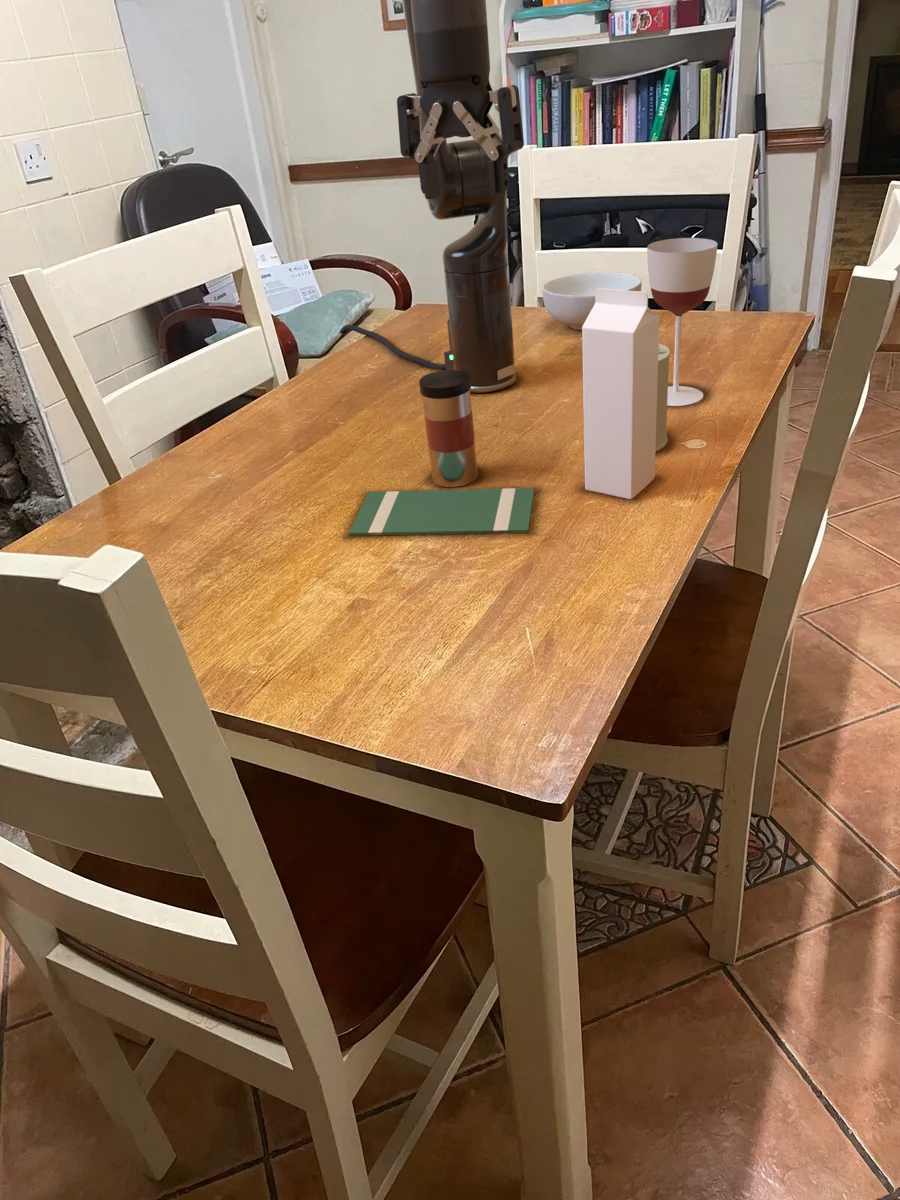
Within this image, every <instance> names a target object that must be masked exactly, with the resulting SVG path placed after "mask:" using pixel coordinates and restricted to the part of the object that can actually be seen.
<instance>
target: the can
mask: <svg viewBox="0 0 900 1200" xmlns="http://www.w3.org/2000/svg"><path fill="white" fill-rule="evenodd" d="M670 356H671V350H670V348H669V347H668V346H667V345H665V344H662V343H660V342H659V350H658V383H657V416H656V449H655V453H656V452H659V451H660V450H662V449H663V448H664V447H666V445H667V443H668V433H667V432H668V429H667V426H668V425H667V424H668V406H667V398H668V386H669V377H670V376H669V374H670Z"/></svg>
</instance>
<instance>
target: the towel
mask: <svg viewBox="0 0 900 1200" xmlns="http://www.w3.org/2000/svg"><path fill="white" fill-rule="evenodd" d="M535 489H536V488H535V487H522V488H521V487H519V488H516V487H513V488H512V487H510V488H509V487H508V488H505V487H504V488H478V489H477V488H476V489H473V488H471V489H438V490H437V489H436V490H435V489H433V490H395V491H393V490H389V491H368V493H367V495H366V497H365V499H364V501H363V503H362V506H361V507H360V508H359V509H360V510H359V512H358V514H357V515H356V518H355V519H354V521H353V523H352V526H351V528H350V529H349V532H348V534H349V537H356V536H361V537H362V536H363V537H365V536H416V535H417V536H418V535H419V536H420V535H421V536H423V535H424V536H427V535H476V534H477V535H482V534H484V535H486V534H488V535H489V534H490V535H491V534H529V531H530V524H531V517H532V510H533V503H534V497H535V492H536V491H535Z"/></svg>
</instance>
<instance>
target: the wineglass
mask: <svg viewBox="0 0 900 1200" xmlns="http://www.w3.org/2000/svg"><path fill="white" fill-rule="evenodd" d="M646 249H647V250H646V251H647V252H646V254H647V257H646V258H647V272H648V280H649V286H650V292H651V295H652V299H653V301H654V302H655V303H656V304H657V305H658V306H660V307H661V308H662V309H664V310H666V311H668V312H669V313H672V314H674V315H675V328H674V329H675V330H674V333H675V334H674V356H673V378H672V379H673V381H672V385H668V398H667V407H668V406H669V407H681V406H687V405H692V404H696V403H698V402H699V401H701V400H702V399H703V398H704V392H702V391H701V390H699V389H697V388H694V387H691V386H684V385H680V367H681V346H682V345H681V343H682V321H683V315H684V314H686V313H688V312H690V311H692V310H694V309H695V308H697V307H699V306H700V305H701V304H703V303H704V302H705V300H706V299H707V297H708V295H709V293H710V289H711V285H712V281H713V277H714V272H715V266H716V262H717V261H716V260H717V254H718V253H717V252H718V242H717V241H715V240H713V239H709V238H702V237H701V238H699V237H680V238H679V237H678V238H668V239H662V240H661V239H660V240H657V241H654V242H651V243H650V244H648V245H647V247H646Z"/></svg>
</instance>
